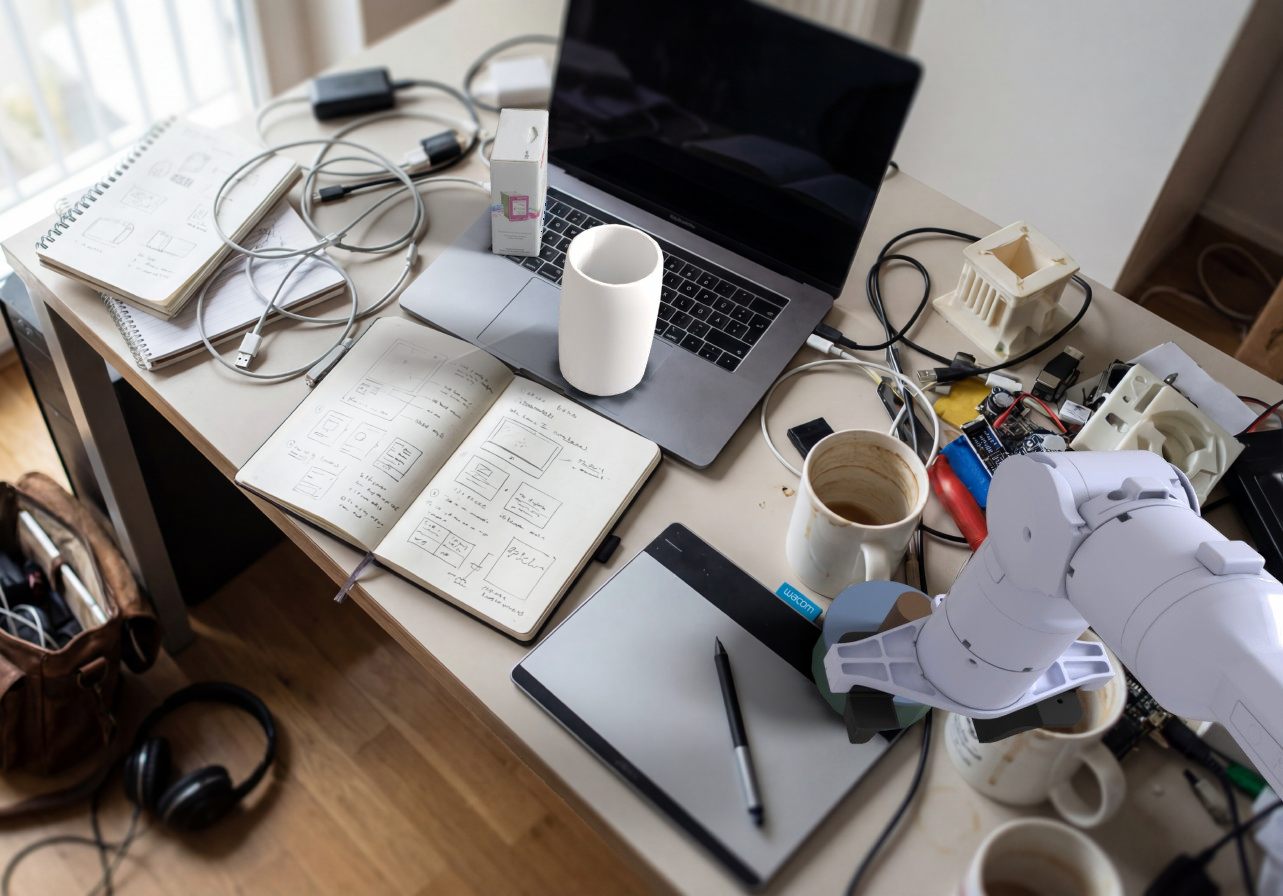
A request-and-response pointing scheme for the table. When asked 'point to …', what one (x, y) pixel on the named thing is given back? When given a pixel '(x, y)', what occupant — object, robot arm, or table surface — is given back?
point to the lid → (875, 612)
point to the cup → (608, 308)
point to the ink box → (519, 181)
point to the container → (837, 700)
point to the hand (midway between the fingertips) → (915, 727)
